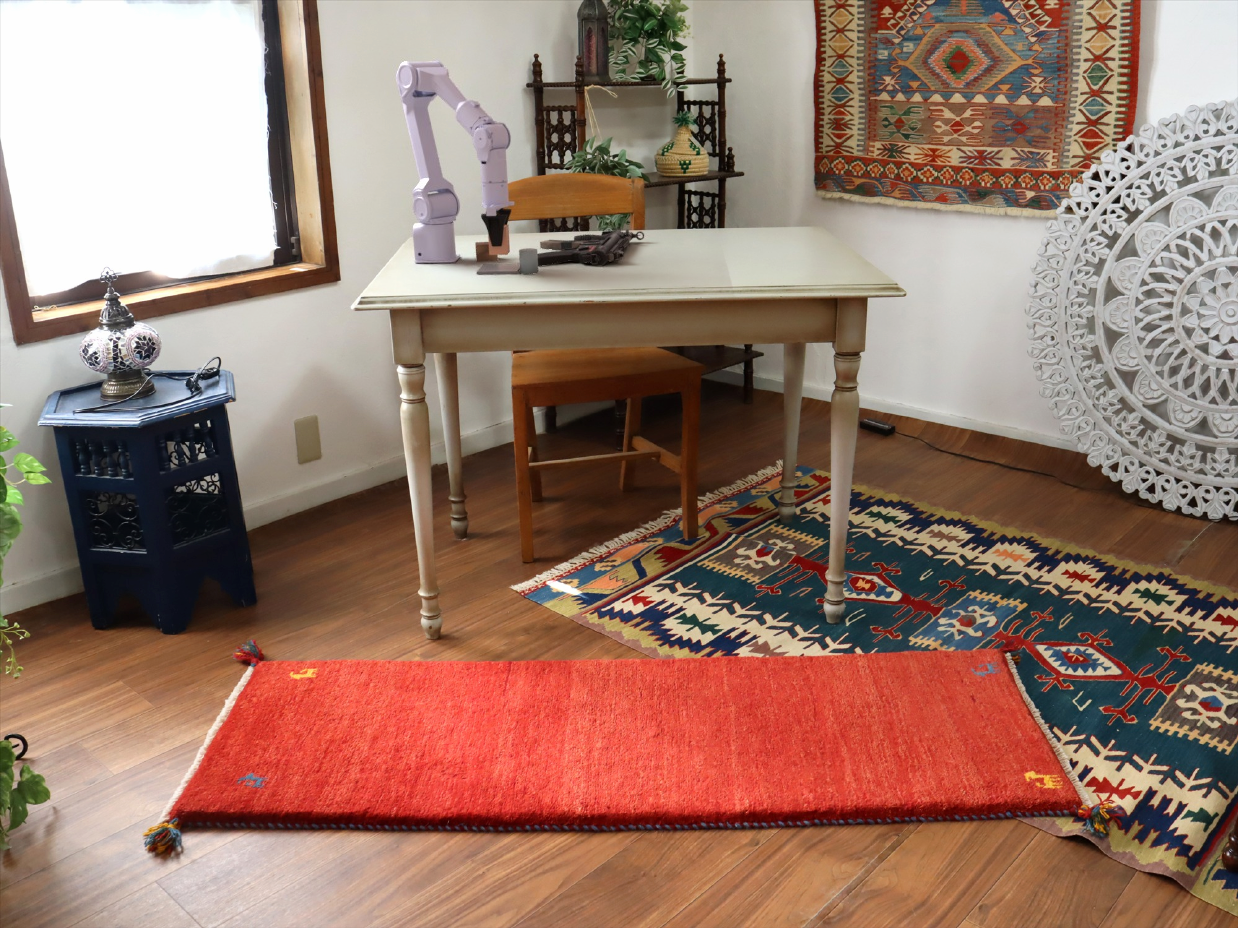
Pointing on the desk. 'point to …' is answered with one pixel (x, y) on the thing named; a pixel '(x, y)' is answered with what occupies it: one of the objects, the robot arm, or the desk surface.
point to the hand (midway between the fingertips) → (498, 244)
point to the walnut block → (484, 252)
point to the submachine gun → (587, 248)
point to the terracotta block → (505, 244)
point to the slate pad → (499, 268)
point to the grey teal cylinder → (528, 261)
